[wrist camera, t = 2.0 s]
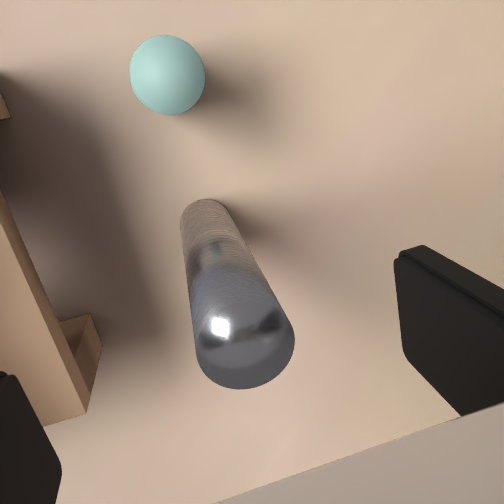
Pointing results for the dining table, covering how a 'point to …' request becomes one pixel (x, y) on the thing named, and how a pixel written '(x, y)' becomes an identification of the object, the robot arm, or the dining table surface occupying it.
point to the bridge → (41, 333)
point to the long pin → (231, 302)
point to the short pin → (167, 75)
